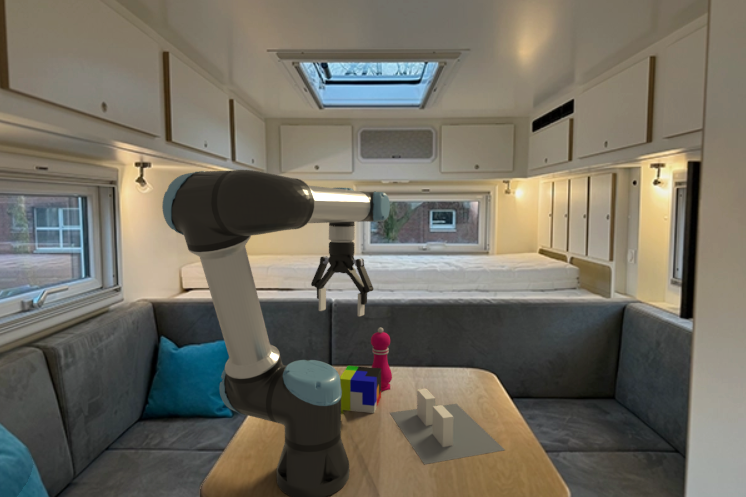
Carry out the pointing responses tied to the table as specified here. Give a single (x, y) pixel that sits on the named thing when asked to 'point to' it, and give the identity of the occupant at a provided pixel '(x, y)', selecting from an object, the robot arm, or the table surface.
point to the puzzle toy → (360, 389)
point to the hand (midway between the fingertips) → (341, 312)
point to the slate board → (465, 436)
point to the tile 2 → (442, 426)
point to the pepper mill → (381, 357)
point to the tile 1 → (425, 406)
